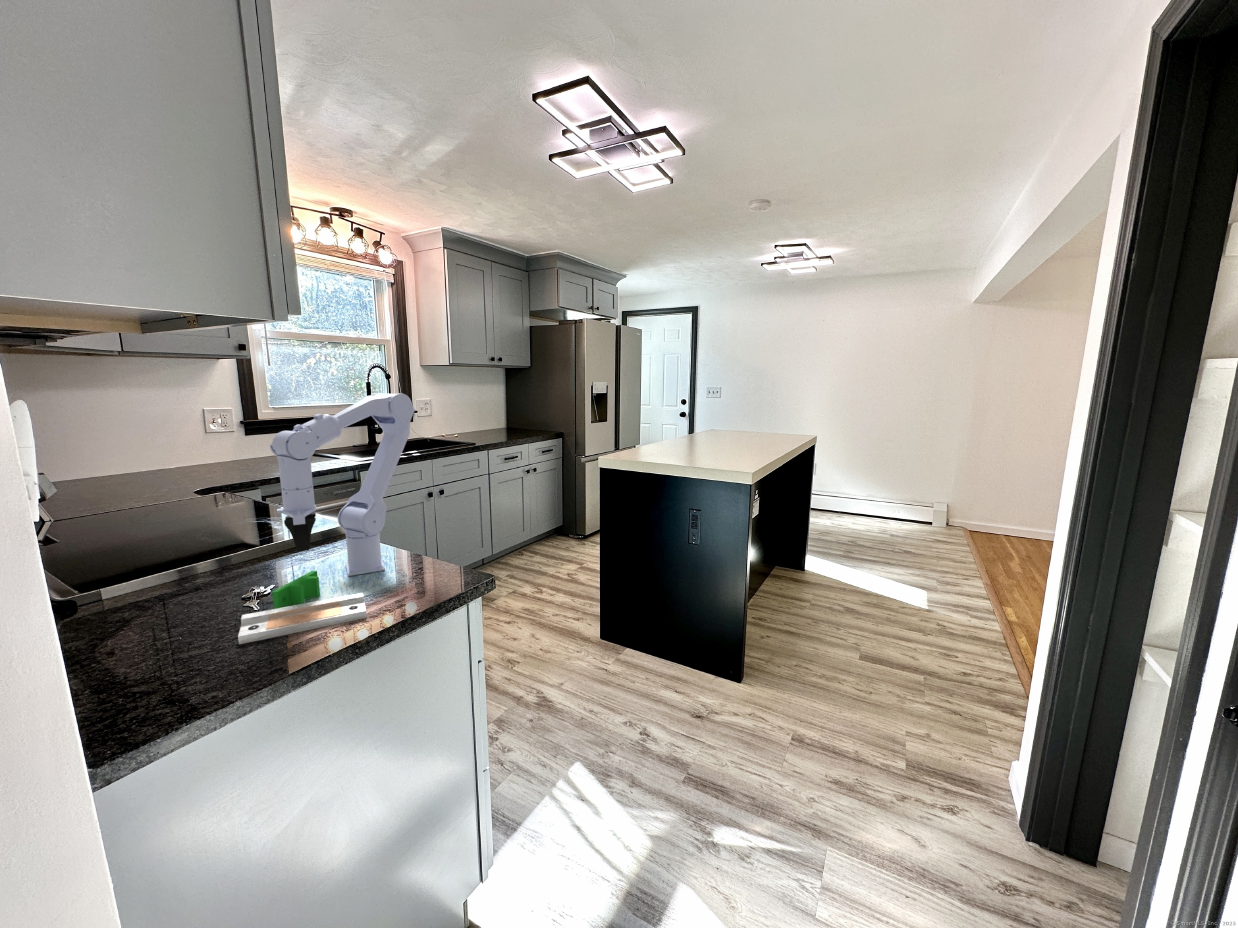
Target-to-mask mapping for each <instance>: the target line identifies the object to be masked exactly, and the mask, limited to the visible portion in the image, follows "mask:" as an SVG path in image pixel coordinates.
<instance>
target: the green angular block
mask: <svg viewBox="0 0 1238 928" xmlns="http://www.w3.org/2000/svg"><path fill="white" fill-rule="evenodd" d="M319 577H320V576H318V571H317V570H310V571H309V572H307V573H305V574H304V575H301V576H299V577H298V578H296V579H293V580H292V581H290V582H288V583H286V584H284V585H282V586H281V587H278V588H276V589H274V590H272V591H271V592H272V603H273V609H277V608H283V607H288V606H294V605H299V604H304V603H306V600H308V599H312V598H319V597H320V596H321V589H320V588H321V587H320V578H319Z"/></svg>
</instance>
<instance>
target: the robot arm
mask: <svg viewBox="0 0 1238 928" xmlns="http://www.w3.org/2000/svg"><path fill="white" fill-rule="evenodd" d="M415 410H416V409H415V408H414V404H413V402H412V400H411V398H410V397H409V396H408V395H407V394H405V393H402V392H401V393H399V392H398V393H381V392H374V393H372V394H370V395H367V396H364V397H363V398H362V399H361V400H359V401H357V402H356V403H353V404H352V405H350V406H348V407H347V408H344V409H343V410H340V411H339V412H338V413H336V414H334V415H331V414H327V413H324V414H322V413H317V414H314V415H313V419H311V420H309V421H307V422H304V423H303V424H296V425H294V426H293V429H292V430H282V431H279V432H277V433H276V434H275V437H273V439H272V441H271V442H272V443H271V444H270V445H269V449H270V451H271V453H272V454H273V455H275V457H276V458H277V463H278V470H279V480H280V482H279V483H280V489H281V499H282V500H281V501H282V508H276V514H278V515H279V514H283V515H286V516H285V519H284V521H283V523H284V526H285V528H287V530H288V531H289V533H290V535H291V537H292V540H293V542H294V546H295V548H296V551H297V552H304V551H305V552H306V551H309V550H310V548H311V538H312V531H313V527H314V525H315V523H316V520H317V518H316V516H317V514H316V512H315V511H316V510H317V505H316V502H315V493H314V482H313V481H314V480H313V473H312V471H313V470H312V463H311V462H312V461H311V457H313V455H314V454H315V452H316V450H317V449H319V448H320V447H322V446H324V445H327V443H330V442H332V441H333V440H335V439H338V438H339V437H340V436H342V430H343V429H345V428H347V427H349V426H351V425H353V424H355V423H357V422H360V421H362V420H364V419H367V418H369V417H372V419H373V420H374V421H375V422H376V423H377V424H378V426H379V427H380V428H381V429H382V432H383V436H382V438H381V440H380V443H379V446H378V448H377V450H376V452H375V455H374V457H373V459H372V461H371V464H370V466H369V468H368V470H367V473H366V474H365V477H364V479H363V482H362V484H361V487H360V489H359V491H358V492H357V493H355V494H353V495H351V496H350V497H349V498H348V501H347V502H346V504H344V506H343V507H342V508H341V509H340V510H339V512H338V513H337V523H338V525H339V526H340V528H342V529H343V530H344V534H345V540H346V541H345V542H346V552H347V561H346V562H345V567H346V568H345V569H346V572H347V573H346V574H347V576H348V577H351V576H358V575H359V576H360V575H364V574H368V573H369V574H371V573H375V572H382V571H385V570H386V567H385V564H384V562H383V559H382V554H381V553H382V551H381V538H380V537H381V536H380V534H381V533H382V532H381V531H382V530H383V528H384V526H385V523H386V513H387V509H388V506H387V504H386V502H385V501H384V497H385V494H386V492H387V489H388V487H389V484H390V482H391V479H392V477H393V475H394V472H395V470H396V468H397V466H398V463H399V460H400V458H401V457H402V453H403V451H404V449H405V446H406V444H407V441H408V439H409V438H410V437H409V436H410V431H411V420H412V418H413V415H414V414H415Z"/></svg>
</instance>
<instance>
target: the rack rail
mask: <svg viewBox="0 0 1238 928" xmlns="http://www.w3.org/2000/svg"><path fill="white" fill-rule="evenodd" d="M364 599H365V597H364V593H363V592H359V593H354V594H349V595H343V596H342V595H341V596H337V597H332V598H327V599H321V600H316V601H310V602H305V603H304V604H299V605H294V606H288V607H283V608H277V609H274V608H272V609H267V610H262V611H255V612H252V613H245V614H241V618H240V622H241V625H240V628H239V632H238V636H237V638H238V639H237V640H238V641H237V642H238V645H243V644H247V643H248V644H249V643H253V642H257V641H258V642H259V641H262V640H267V639H273V638H277V637H283V636H287V635H291V634H296V633H301V632H304V631H310V630H316V629H319V628H326V627H329V626H335V625H339V624H343V623H349V622H352V621H353V622H354V621H358V619H359V620H362V619H366V618H367V610H366V604H365V600H364Z"/></svg>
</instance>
